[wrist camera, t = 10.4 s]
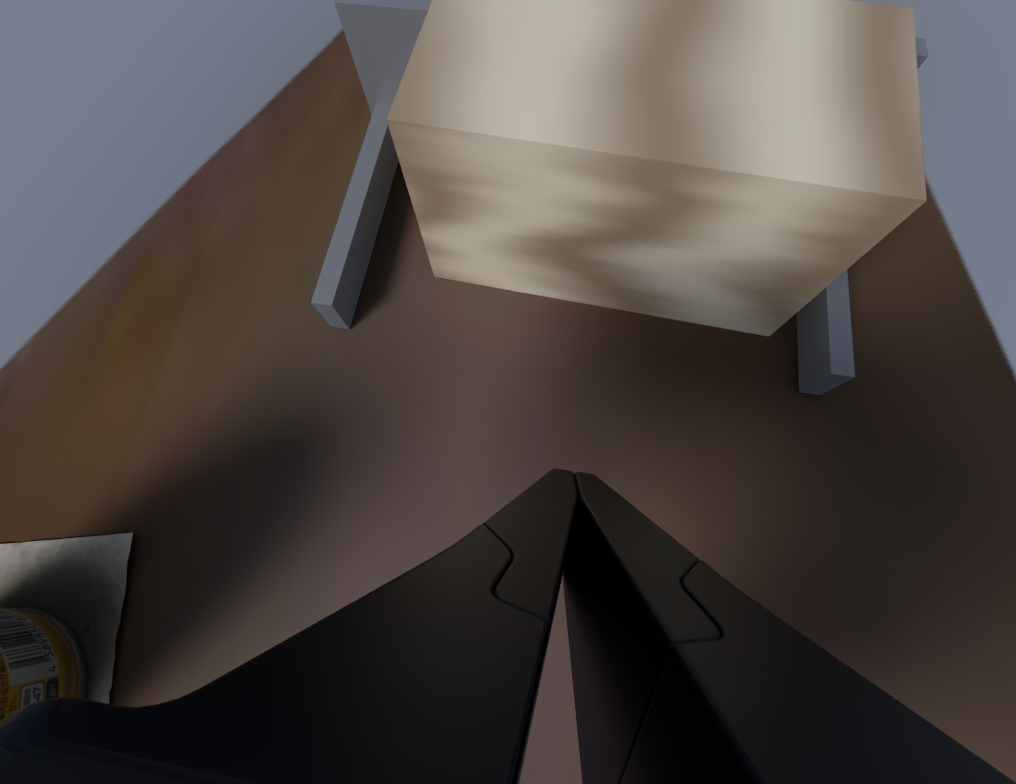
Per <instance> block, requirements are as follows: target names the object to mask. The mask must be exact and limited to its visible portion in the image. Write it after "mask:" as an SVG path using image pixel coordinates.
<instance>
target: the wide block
mask: <svg viewBox="0 0 1016 784" xmlns="http://www.w3.org/2000/svg"><path fill="white" fill-rule="evenodd" d="M914 31H915V30H914V16H913V8H909V7H901V6H893V5H884V4H876V3H867V2H859V1H850V0H432V2H431V4H430V7H429V10H428V12H427V15H426V17H425V20H424V23H423V25H422V28H421V30H420V33H419V36H418V38H417V41H416V43H415V46H414V49H413V51H412V54H411V56H410V59H409V62H408V64H407V67H406V70H405V72H404V75H403V77H402V80H401V83H400V85H399V88H398V90H397V93H396V96H395V98H394V101H393V103H392V106H391V109H390V111H389V114H388V116H387V119H386V120H387V123H388V126H389V129H390V133H391V136H392V139H393V143H394V146H395V149H396V152H397V156H398V159H399V162H400V165H401V169H402V172H403V175H404V179H405V182H406V185H407V188H408V192H409V195H410V198H411V201H412V205H413V208H414V211H415V215H416V218H417V221H418V224H419V228H420V231H421V234H422V237H423V241H424V244H425V247H426V251H427V254H428V257H429V260H430V264H431V267H432V270H433V273H434V277H440V278H446V279H451V280H457V281H462V282H468V283H473V284H479V285H485V286H490V287H496V288H501V289H507V290H512V291H518V292H524V293H529V294H535V295H540V296H546V297H551V298H557V299H563V300H568V301H574V302H579V303H585V304H590V305H596V306H602V307H607V308H613V309H618V310H624V311H629V312H635V313H641V314H646V315H652V316H657V317H663V318H668V319H674V320H680V321H685V322H691V323H696V324H702V325H707V326H713V327H719V328H724V329H730V330H735V331H741V332H746V333H752V334H758V335H763V336H770V335H772V334H773V333H774V332H775V331H776V330H777V329H779V328H780V327H781V326H782V325H783V324H784V323H786V322H787V321H788V320H789V319H790V318H791V317H792V316H794V315H795V314H796V313H797V312H798V311H799V310H801V309H802V308H803V307H804V306H805V305H806V304H808V303H809V302H810V301H811V300H812V299H813V298H814V297H816V296H817V295H818V294H819V293H820V292H821V291H823V290H824V289H825V288H826V287H827V286H828V285H830V284H831V283H832V282H833V281H834V280H835V279H837V278H838V277H839V276H840V275H841V274H842V273H843V272H845V271H846V270H847V269H848V268H849V267H850V266H852V265H853V264H854V263H855V262H856V261H857V260H859V259H860V258H861V257H862V256H863V255H864V254H865V253H867V252H868V251H869V250H870V249H871V248H872V247H874V246H875V245H876V244H877V243H878V242H879V241H881V240H882V239H883V238H884V237H885V236H886V235H887V234H889V233H890V232H891V231H892V230H893V229H894V228H896V227H897V226H898V225H899V224H900V223H901V222H903V221H904V220H905V219H906V218H907V217H908V216H910V215H911V214H912V213H913V212H914V211H915V210H916V209H918V208H919V207H920V206H921V205H922V204H923V203H925V202H926V201H927V198H926V184H925V170H924V156H923V142H922V128H921V114H920V100H919V86H918V73H917V58H916V44H915V32H914Z"/></svg>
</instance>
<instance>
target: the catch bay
mask: <svg viewBox="0 0 1016 784" xmlns="http://www.w3.org/2000/svg"><path fill="white" fill-rule="evenodd" d="M431 2H432V0H335V2H334V3H335V6H336V8H337V12H338V15H339V18H340V20H341V24H342V27H343V30H344V33H345V36H346V39H347V42H348V45H349V48H350V51H351V54H352V57H353V60H354V63H355V66H356V69H357V72H358V75H359V78H360V81H361V84H362V87H363V90H364V93H365V96H366V99H367V101H368V104H369V107H370V110H371V113H372V117H371V120H370V123H369V126H368V130H367V133H366V136H365V139H364V142H363V145H362V148H361V151H360V154H359V157H358V160H357V163H356V166H355V169H354V172H353V175H352V179H351V182H350V185H349V188H348V191H347V194H346V197H345V200H344V203H343V206H342V209H341V212H340V215H339V218H338V221H337V225H336V228H335V231H334V234H333V237H332V240H331V243H330V246H329V249H328V252H327V255H326V258H325V261H324V264H323V267H322V270H321V274H320V277H319V280H318V283H317V286H316V289H315V292H314V295H313V298H312V301H311V303H312V305H313V306H314V307H315V308H316V309H317V311H318V312H319V313H320V314H321V315H322V317H323V318H324V319H325V320H326V322H327V323H328V324H329V325H330V326H331V327H336V328H343V329H350V326H351V322H352V319H353V316H354V312H355V309H356V305H357V302H358V299H359V295H360V292H361V288H362V285H363V281H364V278H365V275H366V271H367V268H368V264H369V261H370V257H371V254H372V251H373V247H374V244H375V240H376V237H377V233H378V230H379V227H380V223H381V220H382V216H383V213H384V209H385V206H386V203H387V199H388V196H389V192H390V189H391V186H392V182H393V179H394V175H395V172H396V168H397V165H398V162H399V159H398V156H397V152H396V149H395V146H394V143H393V139H392V136H391V133H390V129H389V126H388V123H387V120H386V119H387V116H388V114H389V111H390V109H391V106H392V103H393V101H394V98H395V96H396V93H397V90H398V88H399V85H400V83H401V80H402V77H403V75H404V72H405V70H406V67H407V64H408V62H409V59H410V56H411V54H412V51H413V49H414V46H415V43H416V41H417V38H418V36H419V33H420V30H421V28H422V25H423V23H424V20H425V17H426V15H427V12H428V10H429V7H430V4H431ZM915 44H916V58H917V69H918V68H919V67H920V65H921V64H922V63H923V62H924V60H925V59H926V58H927V57H928V52H927V46H926V40H925V39H919V38H915ZM796 314H797V345H798V375H799V392H801V393H808V394H815V395H822V394H824V393H826V392H828V391H830V390H831V389H833V388H835V387H837V386H839V385H841V384H843V383H845V382H847V381H849V380H851V379H853V378H855V368H854V354H853V341H852V327H851V313H850V299H849V285H848V272H847V270H846V271H845V272H843V273H842V274H841V275H840V276H839V277H838V278H837V279H835V280H834V281H833V282H832V283H831V284H830V285H828V286H827V287H826V288H825V289H824V290H823V291H821V292H820V293H819V294H818V295H817V296H816V297H814V298H813V299H812V300H811V301H810V302H809V303H808V304H806V305H805V306H804V307H803V308H802V309H801V310H799V311H798V312H797V313H796Z"/></svg>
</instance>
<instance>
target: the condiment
mask: <svg viewBox="0 0 1016 784" xmlns="http://www.w3.org/2000/svg"><path fill="white" fill-rule="evenodd" d="M132 535H133V533H123V534H113V535H102V536H91V537H79V538H66V539H57V540H45V541H32V542H24V543H9V544H0V723H1V722H3V721H4V720H5V719H7V718H8V717H9V716H11V715H12V714H14V713H15V712H17V711H18V710H19V709H21V708H23V707H25V706H27V705H29V704H31V703H33V702H36V701H40V700H44V699H49V698H59V697H68V698H76V699H85V700H92V701H97V702H102V703H107V704H109V693H110V690H111V687H112V675H113V665H114V661H115V641H116V635H117V631H118V628H119V624H120V619H121V610H122V606H123V602H124V596H125V590H126V581H127V561H128V557H129V553H130V547H131V541H132ZM87 627H88V628H89V631H88V632H85V629H86V628H87Z"/></svg>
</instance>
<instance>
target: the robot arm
mask: <svg viewBox="0 0 1016 784" xmlns="http://www.w3.org/2000/svg"><path fill="white" fill-rule="evenodd" d="M562 575H563V584H564V596H565V606H566V617H567V627H568V637H569V648H570V658H571V669H572V679H573V689H574V700H575V710H576V720H577V731H578V741H579V752H580V762H581V772H582V783H583V784H1016V782H1014V781H1013V780H1011V779H1010V778H1009V777H1007V776H1006V775H1004V774H1003V773H1001V772H1000V771H998V770H997V769H996V768H994V767H993V766H991V765H990V764H988V763H987V762H985V761H984V760H983V759H981V758H980V757H978V756H977V755H975V754H974V753H972V752H971V751H970V750H968V749H967V748H965V747H964V746H962V745H961V744H960V743H958V742H957V741H955V740H954V739H952V738H951V737H949V736H948V735H947V734H945V733H944V732H942V731H941V730H939V729H938V728H936V727H935V726H934V725H932V724H931V723H929V722H928V721H926V720H925V719H924V718H922V717H921V716H919V715H918V714H916V713H915V712H913V711H912V710H911V709H909V708H908V707H906V706H905V705H903V704H902V703H900V702H899V701H898V700H896V699H895V698H893V697H892V696H890V695H889V694H887V693H886V692H885V691H883V690H882V689H880V688H879V687H877V686H876V685H875V684H873V683H872V682H870V681H869V680H867V679H866V678H864V677H863V676H862V675H860V674H859V673H857V672H856V671H854V670H853V669H851V668H850V667H849V666H847V665H846V664H844V663H843V662H841V661H840V660H839V659H837V658H836V657H834V656H833V655H831V654H830V653H828V652H827V651H826V650H824V649H823V648H821V647H820V646H818V645H817V644H815V643H814V642H813V641H811V640H810V639H808V638H807V637H805V636H804V635H802V634H801V633H800V632H798V631H797V630H795V629H794V628H792V627H791V626H790V625H788V624H787V623H785V622H784V621H782V620H781V619H779V618H778V617H777V616H775V615H774V614H772V613H771V612H770V611H768V610H767V609H765V608H764V607H762V606H761V605H760V604H758V603H757V602H755V601H754V600H753V599H751V598H750V597H748V596H747V595H746V594H744V593H743V592H741V591H740V590H739V589H738V588H736V587H735V586H734V585H732V584H731V583H730V582H728V581H727V580H726V579H725V578H723V577H722V576H721V575H719V574H718V573H717V572H716V571H714V570H713V569H712V568H711V567H709V566H708V565H707V564H706V563H705V562H703V561H701V560H700V561H699V559H698V558H697V557H696V556H695V555H693V554H692V553H691V552H690V551H688V550H687V549H686V548H685V547H683V546H682V545H681V544H680V543H679V542H677V541H676V540H675V539H674V538H672V537H671V536H670V535H669V534H667V533H666V532H665V531H664V530H662V529H661V528H660V527H659V526H657V525H656V524H655V523H654V522H652V521H651V520H650V519H649V518H647V517H646V516H645V515H644V514H643V513H641V512H640V511H639V510H638V509H636V508H635V507H634V506H633V505H631V504H630V503H629V502H628V501H626V500H625V499H624V498H623V497H621V496H620V495H619V494H618V493H616V492H615V491H614V490H613V489H612V488H610V487H609V486H608V485H607V484H605V483H604V482H603V481H602V480H600V479H599V478H598V477H597V476H595V475H593V474H588V473H582V472H576V473H574V474H573V472H572V471H569V470H562V469H552V470H551V471H549V472H548V473H547V474H546V475H544V476H543V477H542V478H541V479H539V480H538V481H537V482H535V483H534V484H533V485H532V486H530V487H529V488H528V489H527V490H525V491H524V492H523V493H521V494H520V495H519V496H518V497H516V498H515V499H514V500H513V501H511V502H510V503H509V504H507V505H506V506H505V507H504V508H502V509H501V510H500V511H498V512H497V513H496V514H495V515H493V516H492V517H491V518H490V519H488V520H487V521H486V522H484V523H483V524H482V525H480V526H478V527H477V528H476V529H474V530H473V531H472V532H471V533H469V534H468V535H466V536H465V537H464V538H462V539H461V540H459V541H458V542H457V543H455V544H454V545H452V546H450V547H449V548H447V549H445V550H444V551H442V552H440V553H439V554H437V555H436V556H434V557H432V558H430V559H429V560H427V561H425V562H423V563H422V564H420V565H418V566H416V567H414V568H413V569H411V570H409V571H407V572H406V573H404V574H402V575H400V576H399V577H397V578H395V579H393V580H391V581H390V582H388V583H386V584H384V585H383V586H381V587H379V588H377V589H375V590H374V591H372V592H370V593H368V594H367V595H365V596H363V597H361V598H359V599H358V600H356V601H354V602H352V603H351V604H349V605H347V606H345V607H343V608H342V609H340V610H338V611H336V612H335V613H333V614H331V615H329V616H327V617H326V618H324V619H322V620H320V621H319V622H317V623H315V624H313V625H312V626H310V627H308V628H306V629H304V630H303V631H301V632H299V633H297V634H296V635H294V636H292V637H290V638H288V639H287V640H285V641H283V642H281V643H280V644H278V645H276V646H274V647H272V648H271V649H269V650H267V651H265V652H264V653H262V654H260V655H258V656H256V657H255V658H253V659H251V660H249V661H248V662H246V663H244V664H242V665H240V666H239V667H237V668H235V669H233V670H232V671H230V672H228V673H226V674H225V675H223V676H221V677H219V678H217V679H216V680H214V681H212V682H210V683H209V684H207V685H205V686H203V687H201V688H200V689H198V690H196V691H193V692H191V693H189V694H187V695H185V696H183V697H181V698H178V699H175V700H171V701H168V702H164V703H161V704H157V705H150V706H142V707H126V706H117V705H112V704H107V703H102V702H97V701H92V700H85V699H76V698H68V697H59V698H49V699H44V700H40V701H36V702H33V703H31V704H29V705H27V706H25V707H23V708H21V709H19V710H18V711H17V712H15V713H14V714H12V715H11V716H9V717H8V718H7V719H5V720H4V721H3V722H1V723H0V784H519V781H520V776H521V771H522V766H523V762H524V757H525V752H526V747H527V742H528V738H529V733H530V728H531V723H532V718H533V714H534V709H535V704H536V699H537V695H538V690H539V685H540V680H541V675H542V671H543V666H544V661H545V656H546V652H547V647H548V642H549V637H550V632H551V628H552V623H553V618H554V613H555V609H556V604H557V599H558V594H559V589H560V585H561V580H562Z"/></svg>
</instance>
